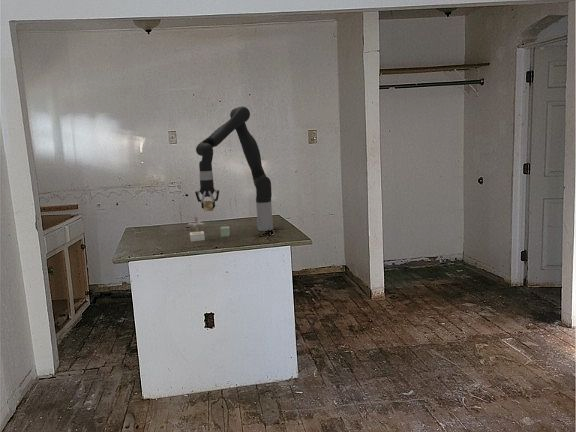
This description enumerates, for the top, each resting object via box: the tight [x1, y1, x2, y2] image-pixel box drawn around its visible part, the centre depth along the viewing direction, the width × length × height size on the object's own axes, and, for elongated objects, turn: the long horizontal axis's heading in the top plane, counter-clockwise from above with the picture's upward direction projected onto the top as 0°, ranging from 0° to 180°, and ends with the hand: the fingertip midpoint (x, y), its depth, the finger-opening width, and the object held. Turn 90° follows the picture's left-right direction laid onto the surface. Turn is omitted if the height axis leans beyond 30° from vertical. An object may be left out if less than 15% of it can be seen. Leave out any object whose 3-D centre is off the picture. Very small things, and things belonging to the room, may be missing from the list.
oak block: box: [203, 200, 214, 212], centre depth 294 cm, size 5×5×5 cm
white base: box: [189, 230, 206, 242], centre depth 298 cm, size 8×8×4 cm
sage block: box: [220, 225, 231, 238], centre depth 304 cm, size 5×5×5 cm
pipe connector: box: [187, 215, 206, 232], centre depth 317 cm, size 10×10×10 cm
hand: (208, 208), depth 294 cm, fingers closed on oak block, 5 cm apart
